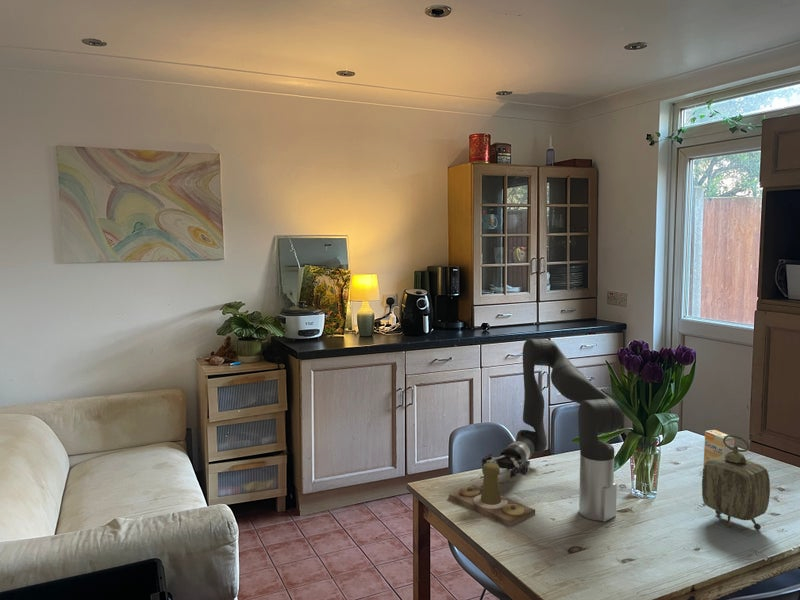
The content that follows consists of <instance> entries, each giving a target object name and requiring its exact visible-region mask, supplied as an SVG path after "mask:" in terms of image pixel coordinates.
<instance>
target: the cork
mask: <svg viewBox="0 0 800 600" xmlns="http://www.w3.org/2000/svg"><path fill="white" fill-rule="evenodd" d="M481 468H482V469H481V472H482V474H483V479H482V487H481V488H482V493H481V502H483V503H485V504H488V505H496V504H499V503H500V502H501V496H502V495H501V491H500V481H499V475H500V472H501V469H500V468H499V466H498V465H497V464H495V463H486V464H484V465H483V467H482V466H481ZM500 495H501V496H500Z"/></svg>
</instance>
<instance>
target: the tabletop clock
mask: <svg viewBox="0 0 800 600" xmlns="http://www.w3.org/2000/svg"><path fill="white" fill-rule="evenodd" d="M728 437H733V438H734V439H737V440H740V441H742V442H744V443H745V445H746V448H744V449H740V448H739V447H738V445H735V444H734V448H733V447H730V446H729V445H727V444H726V443H725V439H726V438H728ZM723 442H724V444H725V446H726V447H728V448H729V449H731V450H733V451H730V452H728V453H727V454H726V455H723V456H719V457H716V458H713V459H710V460H707V461H706V463H705V465H704V464H703V466H704V467H703V471H702V480H701V494H702V495H701V496H702V501H703V504H704V505H706V506H707V507H708V508H710V509H712V510H714V511H715V512H714V513H715V514H716V515H717V516H721V515H722V514H723V515H725V516H727V520H725V521H724V526H725V527H726V528H730V527H731V526H732V522H731V518H734V519H738V520H741V521H751V522H752V524H754V525H753V529H755V530H756V531H759V530H761V527H762V526H761V525H760V524H759V523H757V522H756V520H755V519H756V518H758V517H760V516H761V515H765V514H766V512H767V510H768V507H769V503H770V497H771V496H770V495H771V484H770V483H771V482H770V475H769V471H768V469H767V468H765V466H763V465H761V464H760V463H758V462H755V461H752V460H749V459H746V457H745V456H744V454H743V453H746V452H748V451H749V450H750V444H749V442H748V441H747V440H746V439H744V438H743V437H742V436H739V435H736V434H727V436H725V437H724V439H723Z"/></svg>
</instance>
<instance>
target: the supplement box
mask: <svg viewBox="0 0 800 600" xmlns="http://www.w3.org/2000/svg"><path fill="white" fill-rule="evenodd" d="M727 435H728V434H727V433H726V432H725V433H724V432H722V431H719V430H716V429H711V430H705V432H704V445H703V446H704V448H703V449H704V450H703V466H702V468H704V465H705V463H706V461H707V460H710V459H713V458H716V457H719V456H723V455H726V454H727V453H728V452H730V451H733V450H731V449H729V448H728V447H726V446H725V444H724V442H723V439H724V437H725V436H727ZM725 443H726V444H727V445H729V446H730V447H733V448H734V446H735V438H733V437H728V438H726V439H725Z"/></svg>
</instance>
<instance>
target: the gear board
mask: <svg viewBox="0 0 800 600" xmlns="http://www.w3.org/2000/svg"><path fill="white" fill-rule="evenodd" d="M481 493H482V487H481V486H478V485H475V484H471V485H465V486H462V487H460V488H459V489H458V490H456V491H453V492H450V493H448V500H451V501H453V502H455V503H457V504H459V503H460V504H459V505H461V506H464V507H467V508H469V509H470V510H473V511H475V512H478V513H479V514H481V515H484V516H486V517H488V518H490V519H493V520H495V521H497V522H499V523H502V524H504V525H505V526H509V527H512V526H514V525H516V524H519V523H521V522H523V521H525V520H527V519H529V518H532V517H533V516H536V509H534V508H533V507H530V506H527V505H525V504H523V503H520V502H517V501H516V500H513V499H510V498H507V497H505V496H504V495H501V494H500V496H501V502H500V503H499V504H496V505H488V504H485V503H483V502H481Z"/></svg>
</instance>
